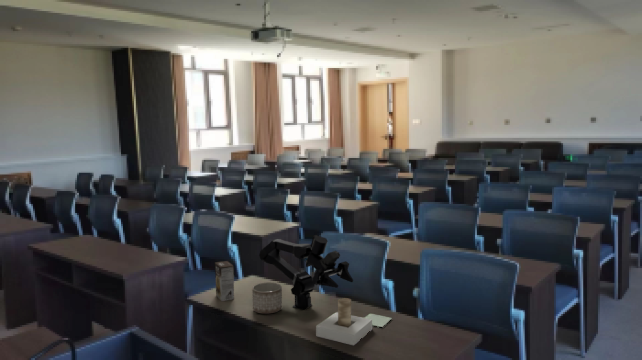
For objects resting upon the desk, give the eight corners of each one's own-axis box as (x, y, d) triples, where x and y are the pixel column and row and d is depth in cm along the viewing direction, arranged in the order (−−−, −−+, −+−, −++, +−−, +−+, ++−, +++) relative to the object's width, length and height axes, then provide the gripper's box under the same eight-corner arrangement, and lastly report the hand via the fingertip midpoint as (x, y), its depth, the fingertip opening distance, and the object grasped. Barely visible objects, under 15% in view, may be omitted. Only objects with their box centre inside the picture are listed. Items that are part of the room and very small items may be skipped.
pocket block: (316, 336, 187) (316, 326, 186) (336, 321, 200) (336, 312, 200) (353, 345, 179) (353, 335, 178) (372, 329, 192) (372, 319, 192)
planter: (269, 318, 204) (268, 294, 203) (246, 311, 211) (246, 288, 210) (287, 308, 215) (287, 285, 214) (265, 302, 222) (265, 280, 221)
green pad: (359, 323, 198) (359, 321, 198) (369, 314, 207) (369, 313, 207) (382, 328, 193) (382, 326, 193) (391, 319, 202) (392, 318, 202)
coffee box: (215, 295, 232) (214, 262, 230) (228, 293, 235) (227, 260, 233) (221, 301, 224) (220, 267, 222) (234, 299, 227) (233, 265, 225)
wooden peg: (335, 333, 189) (335, 301, 187) (341, 329, 193) (341, 297, 191) (347, 336, 186) (347, 303, 185) (353, 331, 190) (353, 299, 189)
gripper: (308, 251, 197) (335, 272, 188) (339, 243, 211) (365, 262, 201) (301, 274, 201) (327, 296, 192) (332, 264, 215) (358, 284, 205)
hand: (345, 284), depth 198 cm, fingers open, 9 cm apart
